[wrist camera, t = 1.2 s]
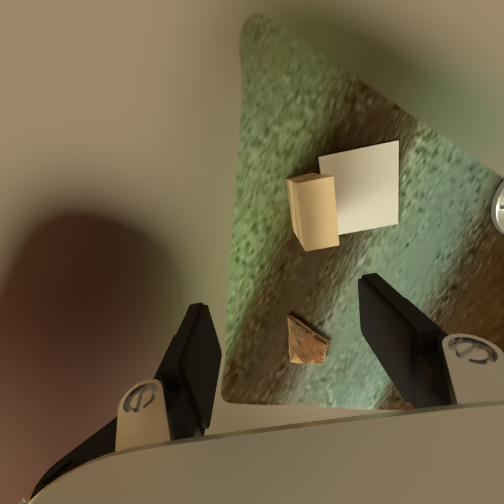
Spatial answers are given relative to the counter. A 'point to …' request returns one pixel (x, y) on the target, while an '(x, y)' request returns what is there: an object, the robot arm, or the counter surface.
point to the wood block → (313, 210)
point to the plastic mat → (364, 186)
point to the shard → (305, 343)
